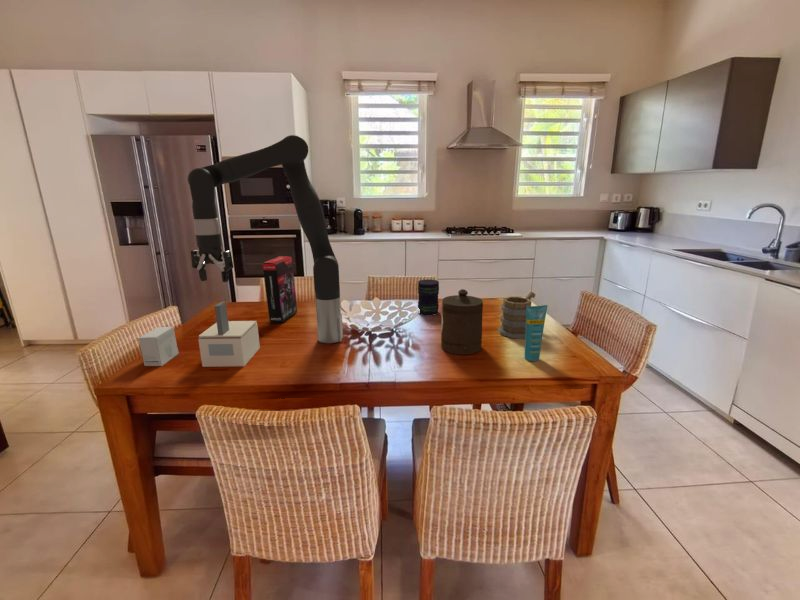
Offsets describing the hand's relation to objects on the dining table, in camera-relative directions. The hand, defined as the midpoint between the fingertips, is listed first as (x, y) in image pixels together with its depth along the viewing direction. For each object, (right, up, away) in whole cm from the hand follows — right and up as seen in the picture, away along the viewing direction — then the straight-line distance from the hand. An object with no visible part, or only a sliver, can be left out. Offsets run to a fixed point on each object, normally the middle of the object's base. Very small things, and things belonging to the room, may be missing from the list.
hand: (214, 281), depth 136 cm
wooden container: (+85, -24, +14) cm, 89 cm away
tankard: (+112, -19, +31) cm, 118 cm away
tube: (+108, -27, +4) cm, 111 cm away
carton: (+3, -26, +7) cm, 28 cm away
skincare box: (-21, -27, +5) cm, 35 cm away
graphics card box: (+9, -15, +50) cm, 52 cm away
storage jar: (+76, -12, +56) cm, 95 cm away
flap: (+3, -17, +4) cm, 17 cm away
